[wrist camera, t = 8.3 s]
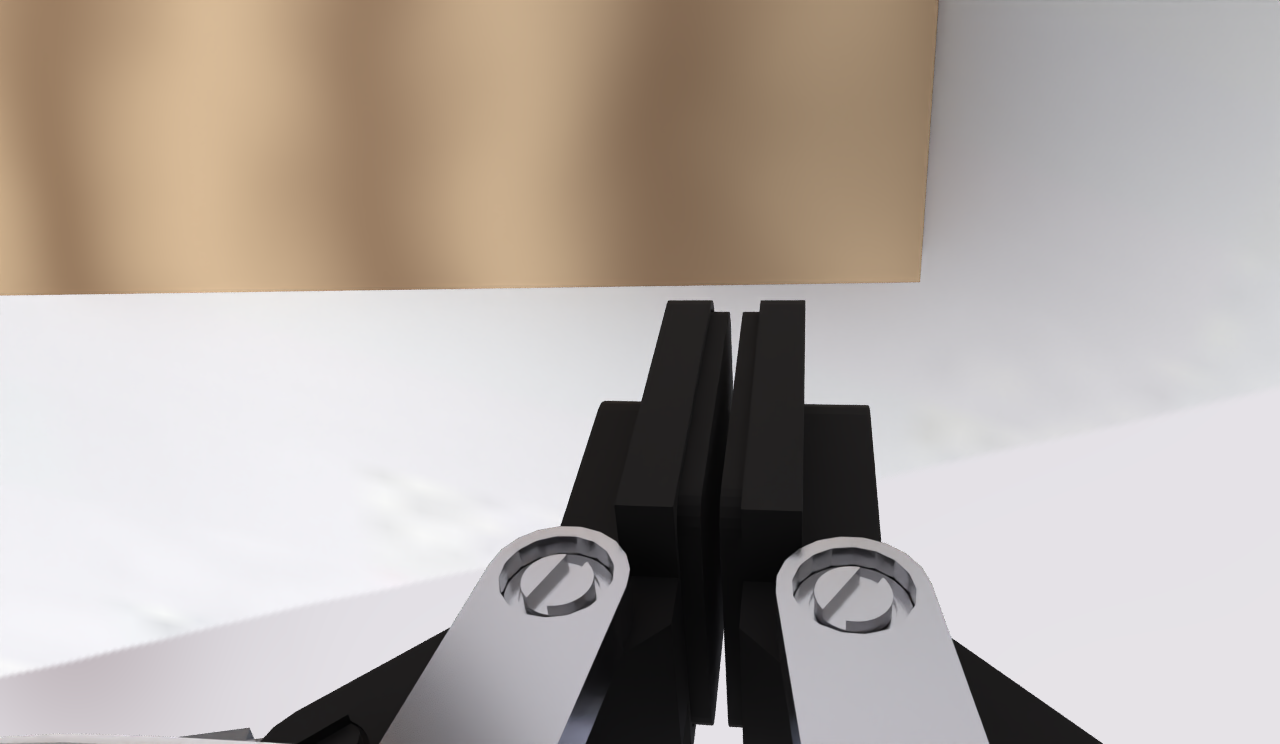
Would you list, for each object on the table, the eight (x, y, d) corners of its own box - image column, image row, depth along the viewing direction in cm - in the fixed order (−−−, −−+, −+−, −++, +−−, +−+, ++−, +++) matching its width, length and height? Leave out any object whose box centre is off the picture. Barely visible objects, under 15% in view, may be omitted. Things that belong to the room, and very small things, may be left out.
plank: (938, -137, 19) (948, -136, 18) (913, 261, 22) (920, 282, 21) (-97, -62, 22) (-141, -58, 21) (31, 276, 26) (-1, 295, 25)
